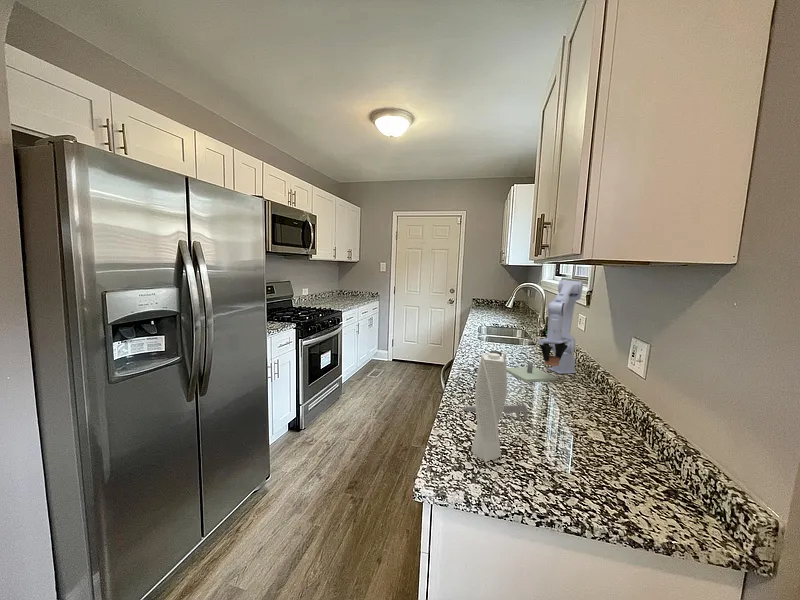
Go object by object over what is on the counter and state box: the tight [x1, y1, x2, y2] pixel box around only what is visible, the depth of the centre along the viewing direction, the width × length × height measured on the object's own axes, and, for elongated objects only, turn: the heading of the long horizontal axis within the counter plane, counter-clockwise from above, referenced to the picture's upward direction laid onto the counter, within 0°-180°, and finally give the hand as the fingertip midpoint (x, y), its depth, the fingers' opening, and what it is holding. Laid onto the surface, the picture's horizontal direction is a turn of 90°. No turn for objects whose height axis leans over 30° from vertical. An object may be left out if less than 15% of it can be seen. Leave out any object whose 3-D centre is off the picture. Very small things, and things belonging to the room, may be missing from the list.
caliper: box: [461, 401, 528, 422], centre depth 109 cm, size 20×1×6 cm, turn 72°
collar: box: [544, 355, 560, 366], centre depth 145 cm, size 6×6×3 cm
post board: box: [506, 362, 558, 383], centre depth 153 cm, size 16×16×6 cm
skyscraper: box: [470, 350, 508, 463], centre depth 84 cm, size 8×8×28 cm
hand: (551, 360), depth 145 cm, fingers closed on collar, 6 cm apart
